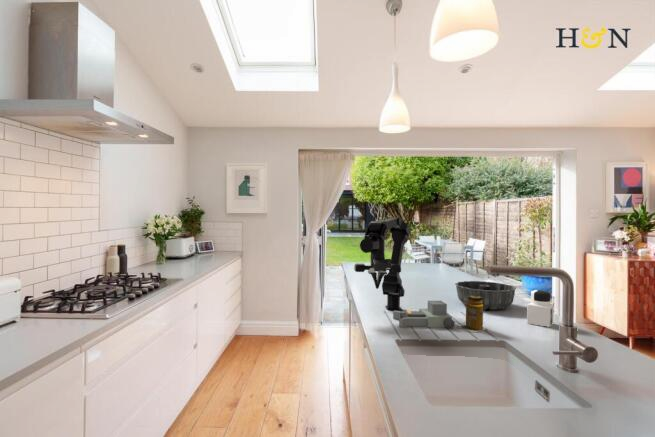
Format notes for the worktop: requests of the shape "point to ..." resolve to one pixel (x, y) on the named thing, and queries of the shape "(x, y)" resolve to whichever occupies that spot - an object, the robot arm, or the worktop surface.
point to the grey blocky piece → (427, 316)
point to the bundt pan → (487, 293)
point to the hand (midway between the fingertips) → (377, 288)
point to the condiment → (474, 314)
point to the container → (540, 309)
